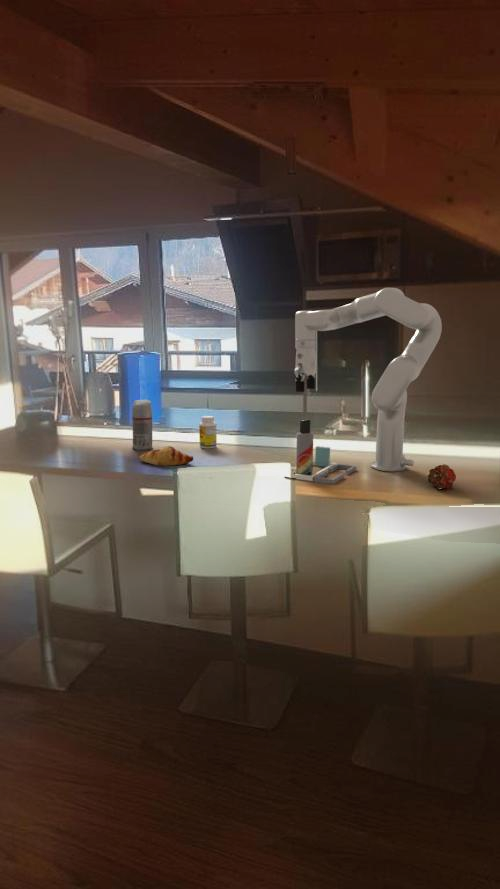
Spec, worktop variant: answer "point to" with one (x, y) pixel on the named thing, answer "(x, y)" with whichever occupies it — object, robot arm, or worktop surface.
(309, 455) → the lotion bottle
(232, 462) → the worktop surface
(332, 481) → the grey open frame
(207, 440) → the supplement bottle
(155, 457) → the croissant
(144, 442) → the spray can
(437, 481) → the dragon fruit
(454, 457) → the worktop surface
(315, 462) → the lane sled
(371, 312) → the robot arm
